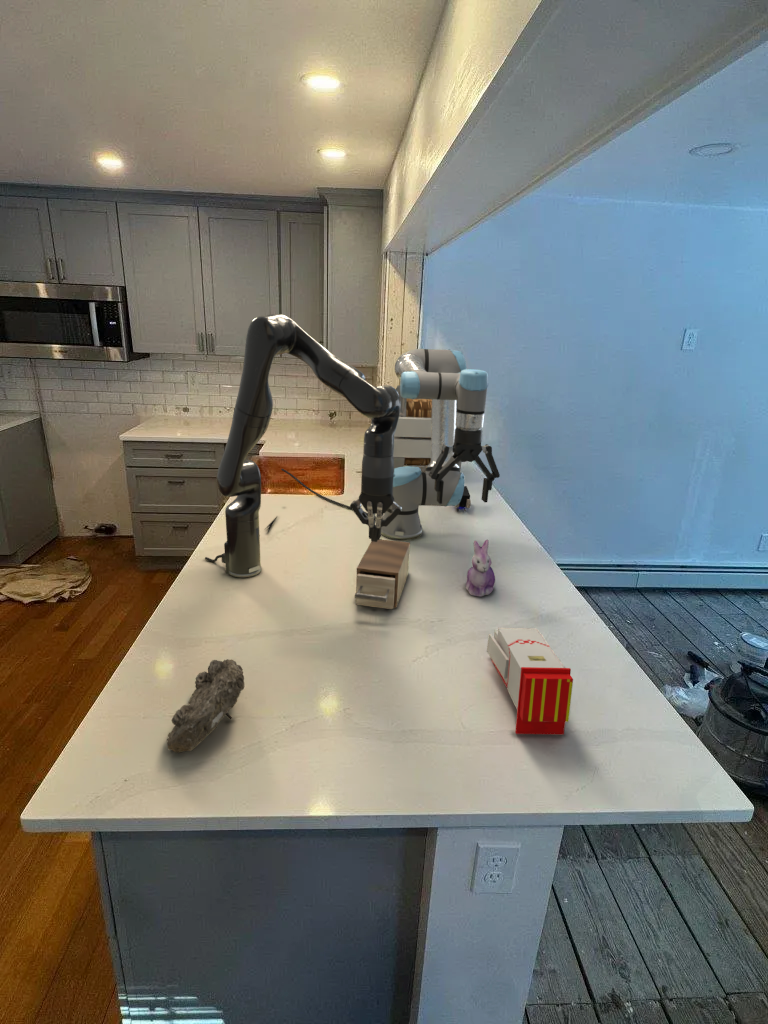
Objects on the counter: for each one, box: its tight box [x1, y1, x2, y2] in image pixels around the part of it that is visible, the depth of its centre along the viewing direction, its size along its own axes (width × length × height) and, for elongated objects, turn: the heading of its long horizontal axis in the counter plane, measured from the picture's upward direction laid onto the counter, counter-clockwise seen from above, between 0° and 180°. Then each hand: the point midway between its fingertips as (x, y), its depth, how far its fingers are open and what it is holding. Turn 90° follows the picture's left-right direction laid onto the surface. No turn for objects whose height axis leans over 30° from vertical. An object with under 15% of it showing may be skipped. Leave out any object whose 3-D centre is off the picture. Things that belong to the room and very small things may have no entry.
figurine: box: [465, 539, 496, 597], centre depth 159 cm, size 9×10×15 cm
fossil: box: [166, 658, 245, 754], centre depth 106 cm, size 22×10×15 cm
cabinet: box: [355, 538, 411, 609], centre depth 159 cm, size 21×11×10 cm, turn 169°
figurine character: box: [454, 485, 472, 513], centre depth 228 cm, size 7×8×15 cm
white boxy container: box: [393, 384, 462, 473], centre depth 268 cm, size 34×33×41 cm
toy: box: [486, 627, 574, 736], centre depth 118 cm, size 12×13×30 cm
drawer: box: [354, 571, 395, 610], centre depth 154 cm, size 25×10×8 cm, turn 169°
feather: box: [264, 516, 278, 533], centre depth 207 cm, size 2×28×2 cm
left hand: (374, 540), depth 139 cm, fingers closed
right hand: (461, 501), depth 162 cm, fingers open, 13 cm apart
